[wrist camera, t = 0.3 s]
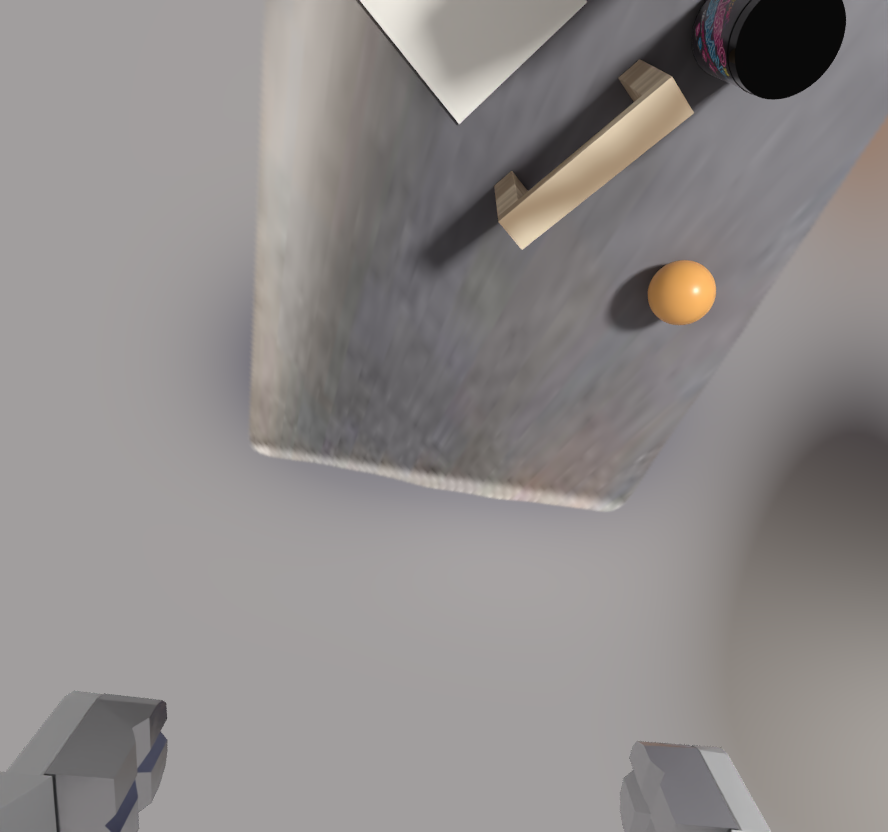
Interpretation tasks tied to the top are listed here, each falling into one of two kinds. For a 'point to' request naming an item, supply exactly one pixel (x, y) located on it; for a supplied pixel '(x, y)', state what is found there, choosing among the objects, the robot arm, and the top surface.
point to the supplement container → (768, 43)
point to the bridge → (594, 156)
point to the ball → (681, 292)
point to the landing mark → (469, 41)
